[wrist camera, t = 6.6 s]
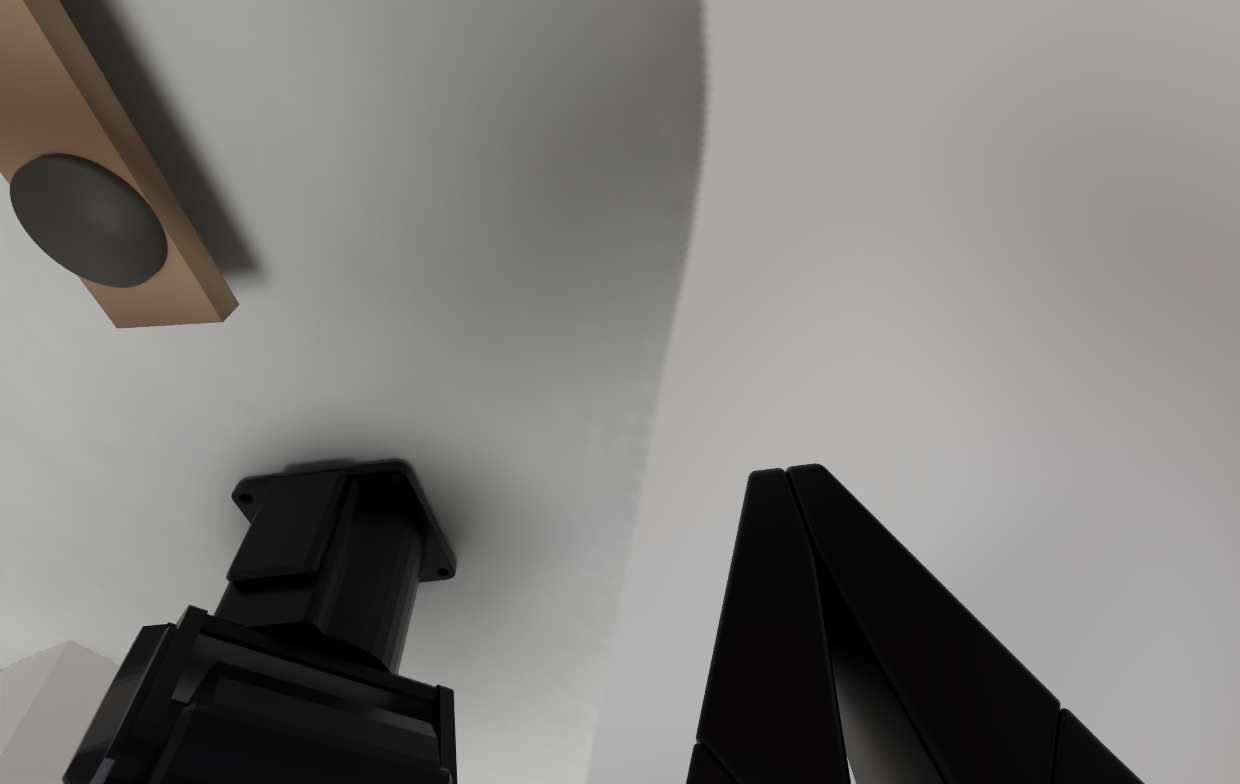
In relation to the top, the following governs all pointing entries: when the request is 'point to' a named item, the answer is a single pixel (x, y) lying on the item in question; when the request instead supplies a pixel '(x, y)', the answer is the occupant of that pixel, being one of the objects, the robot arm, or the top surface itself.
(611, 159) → the top surface
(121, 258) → the lever
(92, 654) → the milk
